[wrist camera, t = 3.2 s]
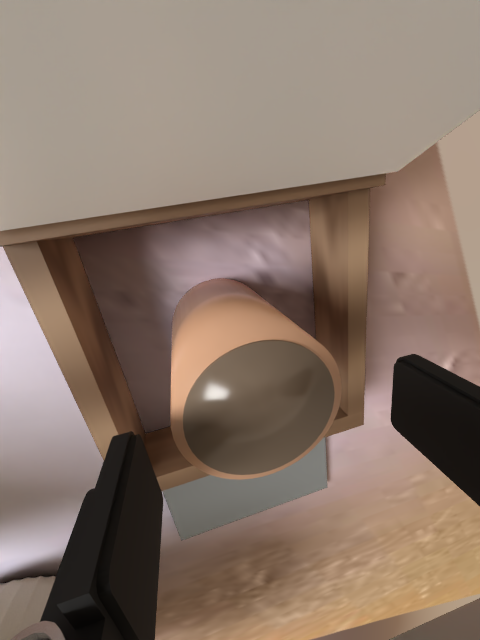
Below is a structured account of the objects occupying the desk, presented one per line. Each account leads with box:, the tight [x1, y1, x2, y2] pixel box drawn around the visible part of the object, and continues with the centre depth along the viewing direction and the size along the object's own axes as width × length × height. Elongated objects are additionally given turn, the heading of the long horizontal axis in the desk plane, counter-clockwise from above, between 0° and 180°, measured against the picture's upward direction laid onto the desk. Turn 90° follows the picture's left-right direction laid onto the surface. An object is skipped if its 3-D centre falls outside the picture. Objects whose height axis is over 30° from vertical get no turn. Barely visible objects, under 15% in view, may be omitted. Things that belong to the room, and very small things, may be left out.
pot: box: [170, 279, 342, 480], centre depth 13 cm, size 6×6×9 cm
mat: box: [163, 437, 327, 541], centre depth 22 cm, size 10×14×1 cm
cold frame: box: [0, 173, 386, 491], centre depth 15 cm, size 16×16×5 cm
